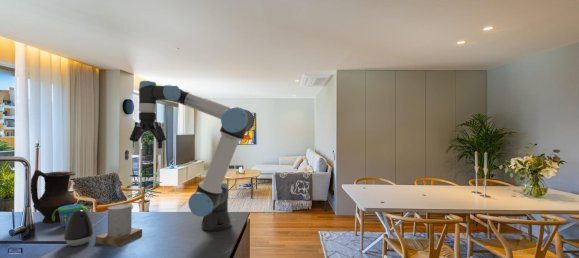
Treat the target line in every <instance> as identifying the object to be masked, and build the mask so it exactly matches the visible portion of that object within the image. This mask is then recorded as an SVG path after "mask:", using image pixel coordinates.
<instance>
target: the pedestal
mask: <svg viewBox="0 0 579 258" xmlns="http://www.w3.org/2000/svg"><path fill="white" fill-rule="evenodd" d="M131 230H132V231H131V232H130V233H129V234H126V235H123V236H117V237H110V236H108V235H107V234H108V231H107V232H104V233H100V234H98V235H95V241H94V242H95V244H97V245H105V246H110V245H111V246H112V247H117V246H118V247H120V246H122V245H124V244H126V243H129V242H131V241H133V240H136V239H137V238H140V237H142V236H143V229H141V228H136V227H135V228H134V227H131Z"/></svg>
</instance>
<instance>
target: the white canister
mask: <svg viewBox="0 0 579 258" xmlns="http://www.w3.org/2000/svg"><path fill="white" fill-rule="evenodd" d="M132 206H133V204H131V203H118V204H114V205H110V206H108V207H107V232H108V234H107V235H108V236H110V237H117V236H123V235H126V234H129V233H130V232H131V231H132V230H131V228H132V209H133V208H132Z"/></svg>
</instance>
